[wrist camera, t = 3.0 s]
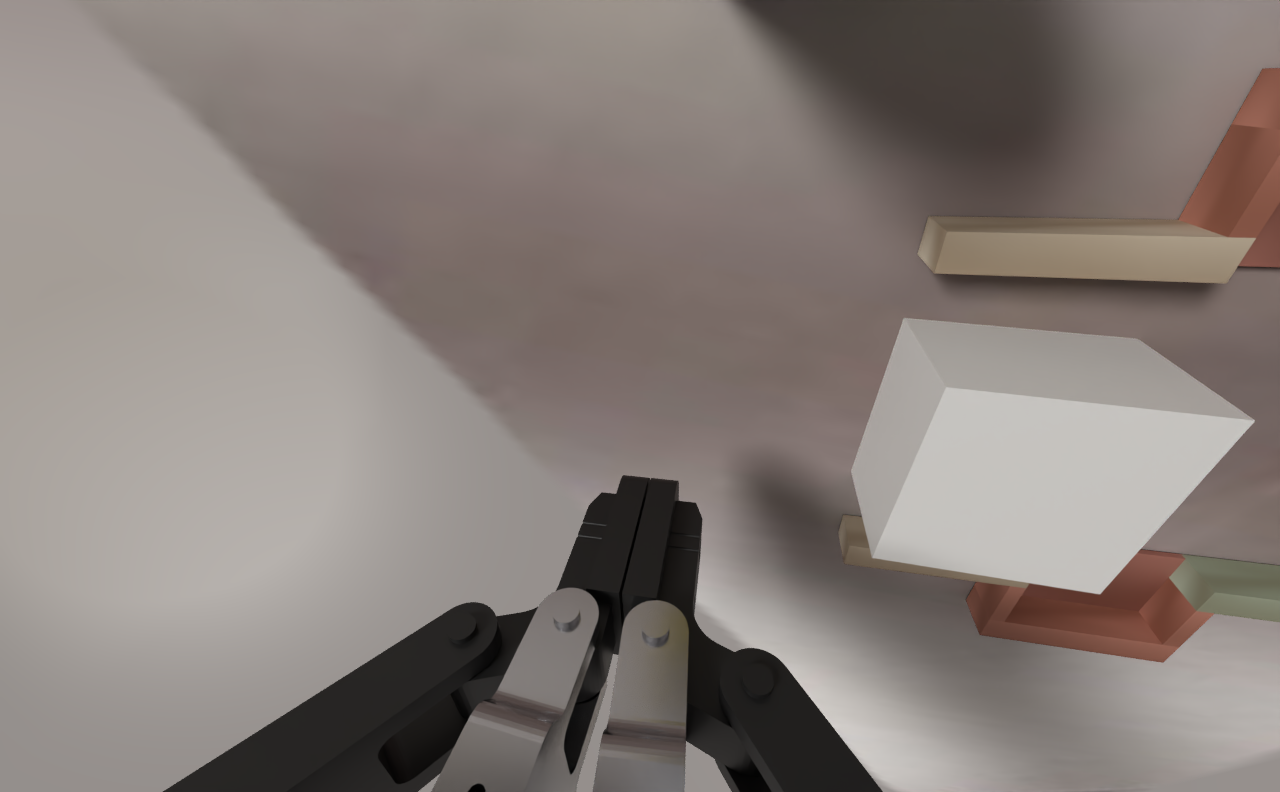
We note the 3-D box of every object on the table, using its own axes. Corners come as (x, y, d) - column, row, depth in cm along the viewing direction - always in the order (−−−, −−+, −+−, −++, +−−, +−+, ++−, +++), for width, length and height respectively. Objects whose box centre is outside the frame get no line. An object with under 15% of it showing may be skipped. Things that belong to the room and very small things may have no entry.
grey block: (902, 315, 14) (945, 387, 11) (1133, 335, 13) (1255, 420, 10) (850, 467, 18) (872, 557, 14) (1032, 492, 17) (1099, 594, 14)
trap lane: (967, 77, 11) (1005, 78, 9) (2107, 43, 8) (2454, 36, 6) (824, 580, 21) (830, 623, 19) (1310, 648, 18) (1366, 706, 16)
